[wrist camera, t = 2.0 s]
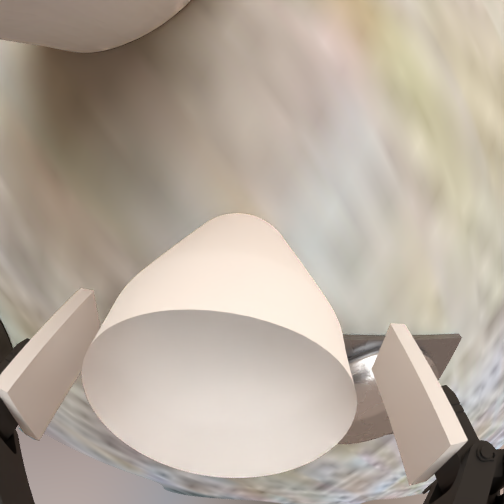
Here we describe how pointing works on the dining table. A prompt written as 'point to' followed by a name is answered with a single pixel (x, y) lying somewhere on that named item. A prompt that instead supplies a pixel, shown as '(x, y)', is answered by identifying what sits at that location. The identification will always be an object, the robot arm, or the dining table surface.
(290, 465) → the cup
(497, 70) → the dining table surface
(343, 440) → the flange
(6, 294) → the dining table surface
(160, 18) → the utensil holder
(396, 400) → the robot arm
